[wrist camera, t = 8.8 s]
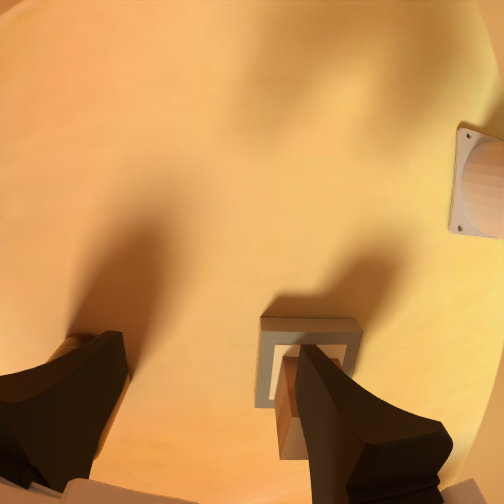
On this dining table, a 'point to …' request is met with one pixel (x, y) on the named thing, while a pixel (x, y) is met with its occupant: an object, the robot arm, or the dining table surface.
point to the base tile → (288, 344)
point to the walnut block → (290, 412)
